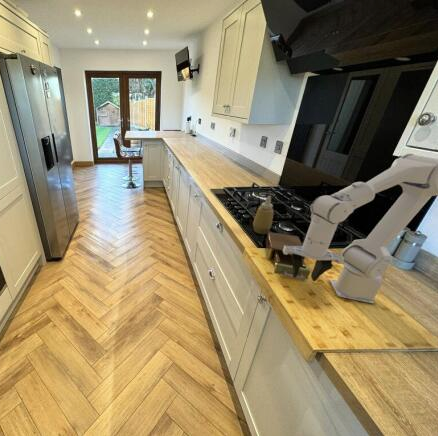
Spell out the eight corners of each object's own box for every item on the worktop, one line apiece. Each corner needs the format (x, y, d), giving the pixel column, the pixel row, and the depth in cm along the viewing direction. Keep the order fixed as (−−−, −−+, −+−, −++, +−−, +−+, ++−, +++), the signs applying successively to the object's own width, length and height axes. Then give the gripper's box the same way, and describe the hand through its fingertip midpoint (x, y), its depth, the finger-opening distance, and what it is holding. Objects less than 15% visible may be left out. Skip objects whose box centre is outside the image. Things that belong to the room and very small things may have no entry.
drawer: (310, 287, 78) (314, 278, 76) (275, 280, 81) (278, 272, 79) (299, 259, 92) (301, 251, 90) (270, 254, 95) (272, 246, 93)
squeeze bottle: (270, 230, 115) (280, 195, 107) (268, 237, 108) (278, 201, 100) (253, 226, 118) (261, 192, 110) (249, 232, 112) (258, 197, 104)
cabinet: (301, 266, 89) (306, 253, 87) (268, 260, 93) (272, 248, 90) (294, 247, 101) (298, 236, 99) (265, 242, 104) (268, 231, 102)
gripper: (343, 236, 66) (326, 274, 72) (286, 227, 71) (275, 264, 77) (354, 249, 60) (335, 289, 66) (291, 239, 65) (278, 278, 71)
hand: (303, 277), depth 71 cm, fingers open, 4 cm apart
